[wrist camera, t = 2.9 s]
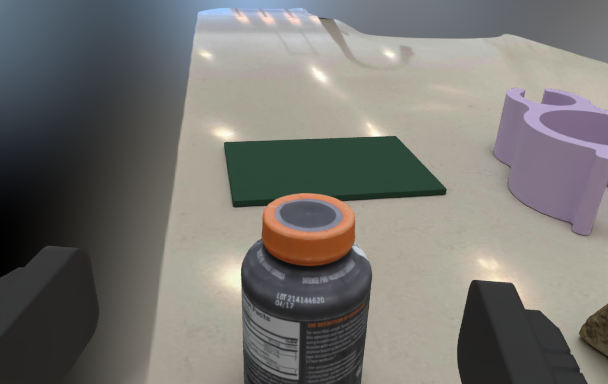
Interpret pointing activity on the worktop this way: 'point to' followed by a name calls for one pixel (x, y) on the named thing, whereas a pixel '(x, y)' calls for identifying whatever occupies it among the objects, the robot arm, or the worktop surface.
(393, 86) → the worktop surface
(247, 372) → the pill bottle
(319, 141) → the mat
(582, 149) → the clip
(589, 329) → the rock
